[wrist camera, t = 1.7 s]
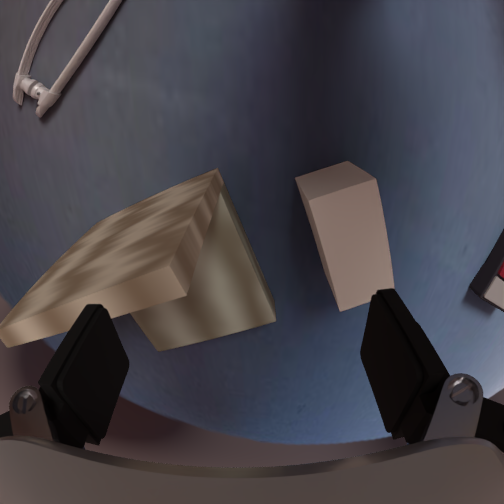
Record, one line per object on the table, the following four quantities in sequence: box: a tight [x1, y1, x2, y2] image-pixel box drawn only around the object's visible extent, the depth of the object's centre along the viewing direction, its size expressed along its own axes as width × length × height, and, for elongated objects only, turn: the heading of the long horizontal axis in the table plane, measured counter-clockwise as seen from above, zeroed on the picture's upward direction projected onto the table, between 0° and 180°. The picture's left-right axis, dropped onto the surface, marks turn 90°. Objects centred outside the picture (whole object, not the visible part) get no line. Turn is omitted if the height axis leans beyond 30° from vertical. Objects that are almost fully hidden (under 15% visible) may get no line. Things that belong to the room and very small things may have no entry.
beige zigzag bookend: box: [0, 168, 276, 352], centre depth 26 cm, size 16×18×20 cm
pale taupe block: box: [295, 161, 394, 312], centre depth 29 cm, size 6×13×8 cm, turn 21°
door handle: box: [13, 0, 122, 118], centre depth 20 cm, size 3×10×25 cm
